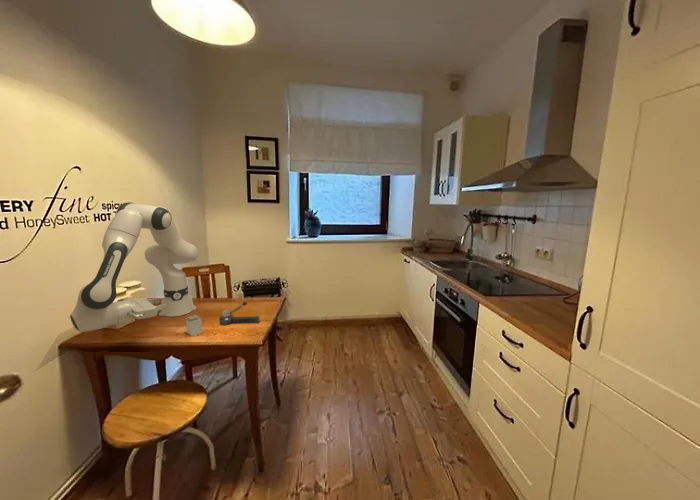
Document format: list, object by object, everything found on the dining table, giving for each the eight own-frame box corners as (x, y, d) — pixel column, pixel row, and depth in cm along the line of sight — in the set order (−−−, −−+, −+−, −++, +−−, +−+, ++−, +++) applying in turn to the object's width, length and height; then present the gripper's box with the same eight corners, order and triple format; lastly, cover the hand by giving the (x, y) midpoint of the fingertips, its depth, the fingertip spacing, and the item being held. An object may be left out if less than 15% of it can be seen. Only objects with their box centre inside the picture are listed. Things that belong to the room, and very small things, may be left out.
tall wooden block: (186, 332, 148) (185, 317, 147) (198, 329, 152) (196, 314, 151) (191, 336, 145) (189, 320, 143) (202, 332, 149) (201, 316, 147)
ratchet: (217, 325, 157) (216, 313, 155) (222, 320, 163) (221, 308, 162) (257, 324, 158) (256, 312, 156) (260, 319, 164) (259, 307, 163)
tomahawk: (232, 319, 167) (232, 317, 167) (222, 317, 169) (222, 315, 168) (253, 305, 187) (253, 303, 187) (244, 303, 189) (244, 301, 188)
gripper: (130, 310, 119) (169, 301, 129) (117, 298, 132) (154, 291, 142) (132, 325, 120) (171, 315, 130) (119, 312, 133) (155, 304, 143)
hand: (162, 302), depth 136 cm, fingers open, 8 cm apart
